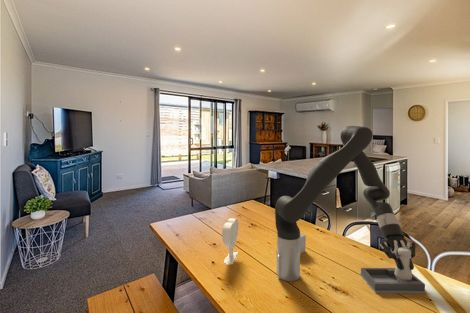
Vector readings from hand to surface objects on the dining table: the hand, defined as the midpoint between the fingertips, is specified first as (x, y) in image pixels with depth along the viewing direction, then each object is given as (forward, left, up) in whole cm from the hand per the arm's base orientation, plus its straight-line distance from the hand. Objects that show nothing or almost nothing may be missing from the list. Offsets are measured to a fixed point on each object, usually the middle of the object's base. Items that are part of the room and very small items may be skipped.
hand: (406, 269), depth 93 cm
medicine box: (-36, +27, -7) cm, 45 cm away
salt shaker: (0, +2, -6) cm, 6 cm away
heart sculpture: (-69, +22, -7) cm, 72 cm away
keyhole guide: (-5, +2, -7) cm, 9 cm away
